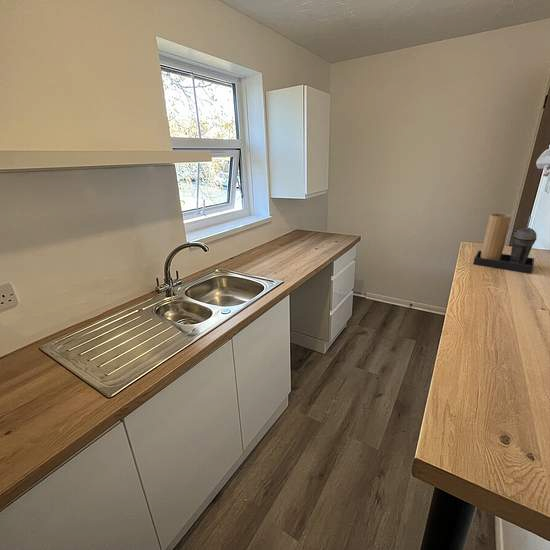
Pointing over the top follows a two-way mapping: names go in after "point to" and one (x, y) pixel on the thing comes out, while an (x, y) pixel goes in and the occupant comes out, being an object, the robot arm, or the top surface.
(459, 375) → the top surface
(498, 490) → the top surface
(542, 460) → the top surface
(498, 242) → the wooden cylinder
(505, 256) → the tray
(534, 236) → the beverage cup
